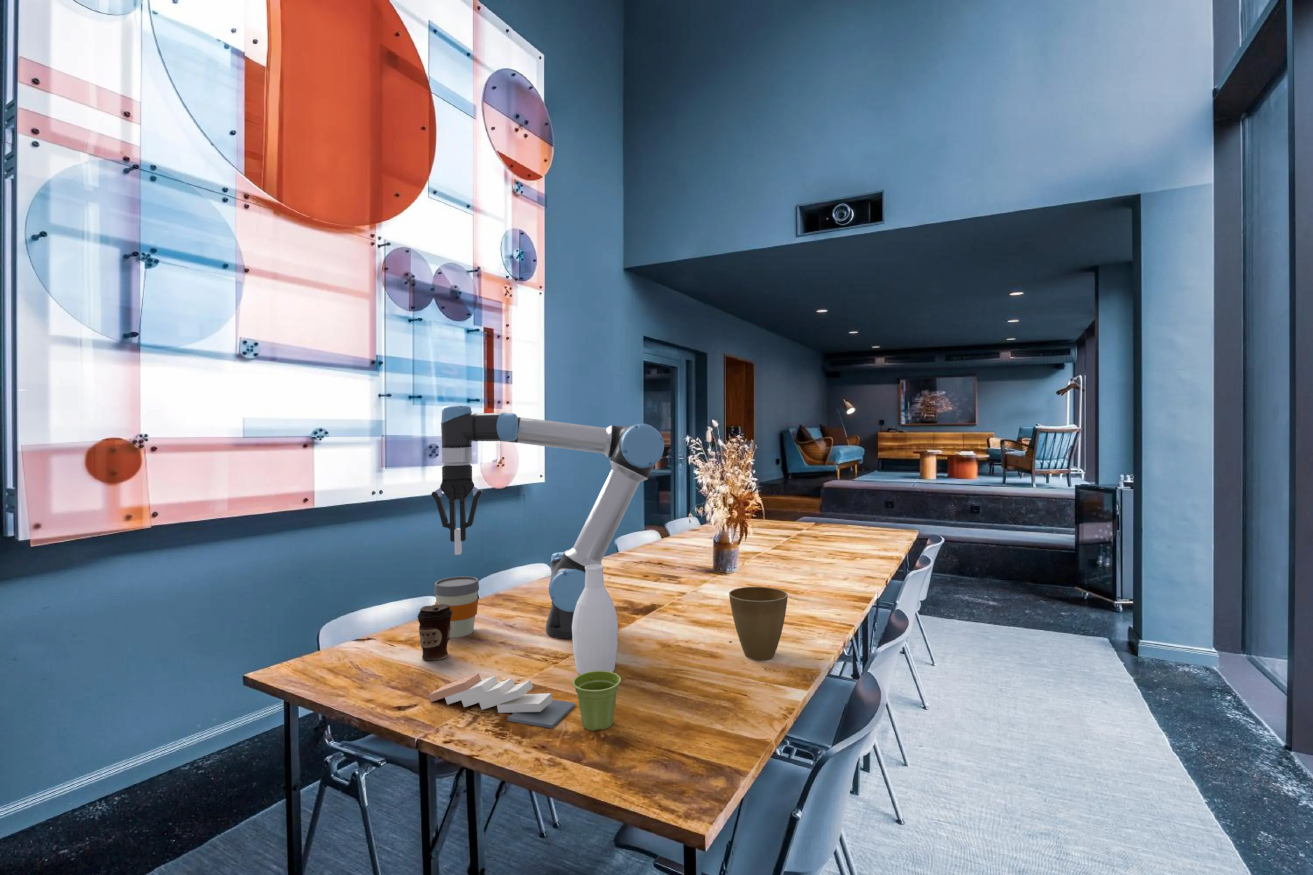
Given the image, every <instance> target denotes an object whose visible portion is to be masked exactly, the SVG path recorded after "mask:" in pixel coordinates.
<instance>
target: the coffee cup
mask: <svg viewBox="0 0 1313 875" xmlns="http://www.w3.org/2000/svg"><path fill="white" fill-rule="evenodd" d="M419 610H420V611H419V613H418V614H417V621H418V623H419V626H418V632H419V642H420V647H421V649H422V655H421V658H422V660H425V661H438V660H442V659H443V660H444V659H446V658H447V657H448V656H449V652H448V649H447V648H448V643H449V641H450V639H451V638H450V631H451V625H450V621H451V617H452V610H450V606H449V605H446V604H438V605H435V604H431V605H424V606H422V607H421V608H420V609H419Z"/></svg>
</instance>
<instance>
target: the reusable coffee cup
mask: <svg viewBox="0 0 1313 875" xmlns="http://www.w3.org/2000/svg"><path fill="white" fill-rule="evenodd" d="M479 590H480V582H479V579H478V578H477V577H475V576H466V575H465V576H464V575H462V576H453V577H446V578H442V579H439V580H437V581H436V582H434V590H433V594H434V595H435V602H434V603H435V604H434V605H438V604H446V605H449V606H450V610H452V617H451V621H450V625H451V631H450V639H451V638H452V639H453V638H462V637H463V638H464V637H466V636H469V635H471V634H472V633H474V629H475V628H474V627H475V620H476V615H477V614H478V608H479V607H478V606H479V597H478V592H479Z"/></svg>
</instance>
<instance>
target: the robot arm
mask: <svg viewBox="0 0 1313 875" xmlns="http://www.w3.org/2000/svg"><path fill="white" fill-rule="evenodd" d="M440 426H441V428H440V429H441V431H440V433H441V463H442V464H444V465H442V466H441V476H442V477H441V479H442V480H441V483H440V486H439V488H437V489H436V490H434V491H432V492H431V496H432V497H433V499H434V500H435V503H436V508H437V511H438V514H439V519H440V522H441V524H442V527H443V528H446V529H448V530H449V540H450V542H451V543H453V542H454V556H457V555H459V556H460V555H462V554H463V553H462V552H463V542H465V541H466V540H467V528H470V527H472V526H473V524H474V520H475V516H476V512H477V507H478V504H479V499H480V498H481V496H482V494H483V493H484V492H483V489H481V488H477V486H475V483H474V482H473V481H474V480H473V466H472V465H471V463H472V462H473V451H472V450H473V448H472V446H473V445H472V443H473V442H505V443H507V442H508V443H513V444H523V445H530V446H531V445H532V446H539V447H547V448H555V449H563V450H573V451H582V452H589V453H595V454H596V453H597V454H603V455H604V456H605V458H609V463H610V467H611V469H610V471H609V474H608V476H607V477H606V480H605V482H604V484H603V486H602V488H601V489H600V492H599V494H598V496H597V498H596V500H595V502H594V504H593V506H592V508H591V510H590V512H589V514H588V516H587V517H586V520H585V523H584V525H583V527H582V528H581V530H580V533H579V534H578V536H577V539H576V540H575V542H574V545H573V547H572V548H570V549H567V550H565V551H559V552H558V551H557V552H554V553H553V554H552V553H551V554H552V555H551V557H550V565H551V567H550V572H551V574H550V580H549V584H548V594H549V596H550V600H551V607H550V609H549V613H548V617H547V619H546V623H545V633H546V635H548V636H550V637H552V638H557V639H573V638H572V622H573V615H574V611H575V608H576V604H577V601H578V599H579V597H580V596H581V594H582V592H583V590H584V588H585V573H586V570H585V566H588V565H603V564H602V560H603V559H604V557H605V554H606V552H608V550H609V549H608V548H609V546H610V544H611V542H612V540H613V538H614V536H615V534H616V532H617V530H618V528H619V526H620V524H621V522H622V520H623V519H624V516H625V514H626V511H627V509H628V507H629V505H630V503H631V501H632V500H633V497H634V495H635V493H636V491H637V490H638V487H639V486H640V483H641V482H644V481H647V480H649V477H650V475H651V473H652V471H653V469H654V467H655V465H656V464H657V463H659V461H660V460H661V458H662V457H663V453H664V449H665V442H664V439H663V436H662V434H661V433H660V432H659V430H658V429H656V428H655V427H654V426H652V425H650V424H647V423H644V422H643V423H641V422H639V423H635V424H632V425H621V426H620V425H614V424H611V425H609V426H607V427H602V426H601V427H600V426H594V425H593V426H592V425H586V424H585V425H584V424H579V423H578V424H577V423H570V422H561V421H555V420H554V421H553V420H545V419H537V418H530V417H520V416H518V415H517V414H516V413H513V412H512V413H511V412H488V413H486V412H485V413H484V412H482V413H477V412H473V411H472V407H471V406H469V405H445V406H443V408H442V409H441V422H440ZM471 492H472V496H473V499H472V502H471V507H470V510H469V511H470V512H469V515H468V519H467V513H466V512H467V510H466V509H467V508H466V507H467V506H466V504H467V498H468V497H469V495H470V494H471ZM443 494H444V496H445V497H446V498H447V499H448V504H449V519H448V515H447V512H446V508H445V504H444V501H443V499H442V496H443ZM457 500H459V527H458V528H457V521H456V520H457V514H456V511H457V508H456V503H457Z"/></svg>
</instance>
